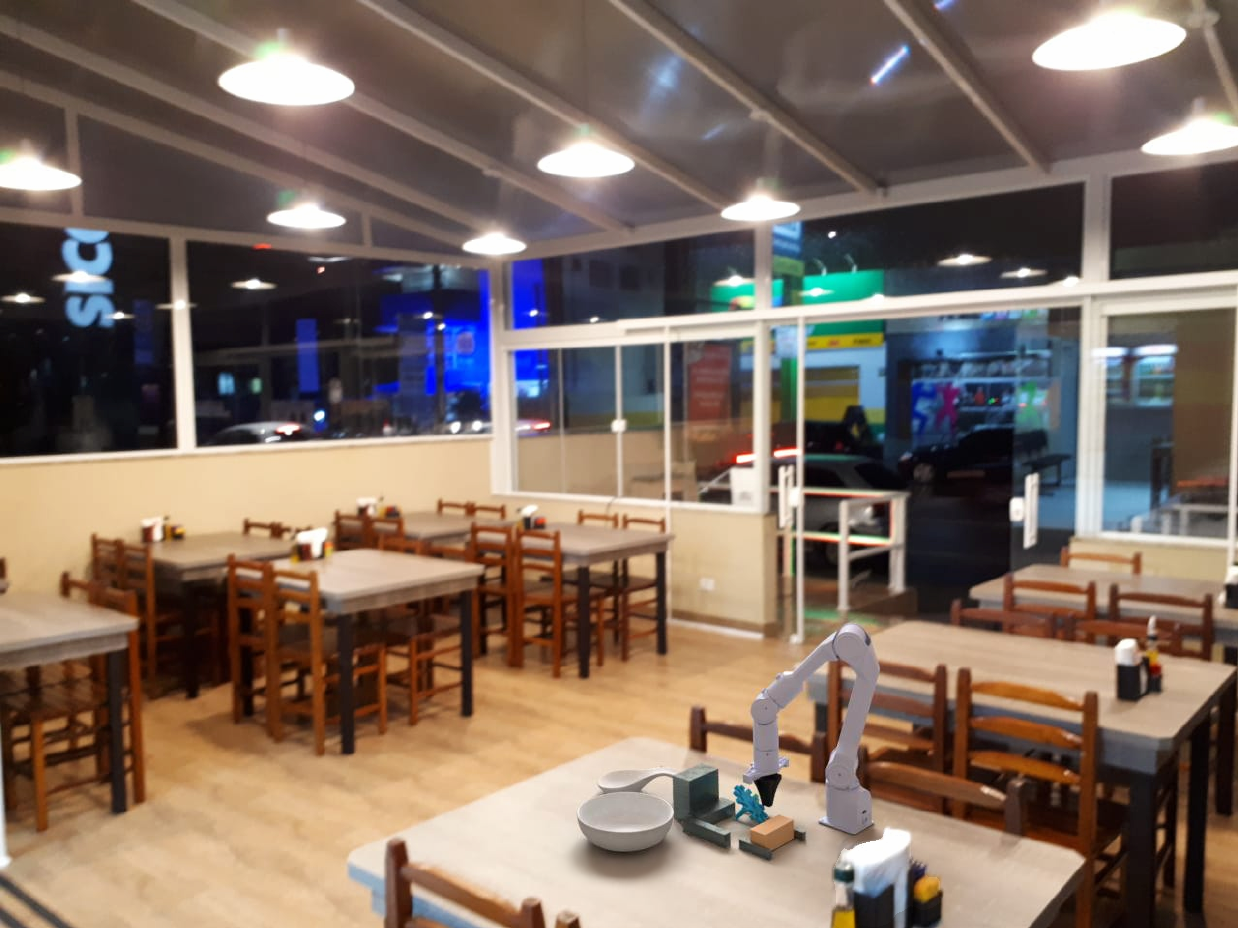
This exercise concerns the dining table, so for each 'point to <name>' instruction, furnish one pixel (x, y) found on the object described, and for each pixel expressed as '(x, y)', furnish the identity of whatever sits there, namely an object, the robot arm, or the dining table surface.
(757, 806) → the gear
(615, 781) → the spoon rest
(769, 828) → the press ram
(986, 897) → the dining table surface
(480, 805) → the dining table surface
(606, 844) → the serving bowl
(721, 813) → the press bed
